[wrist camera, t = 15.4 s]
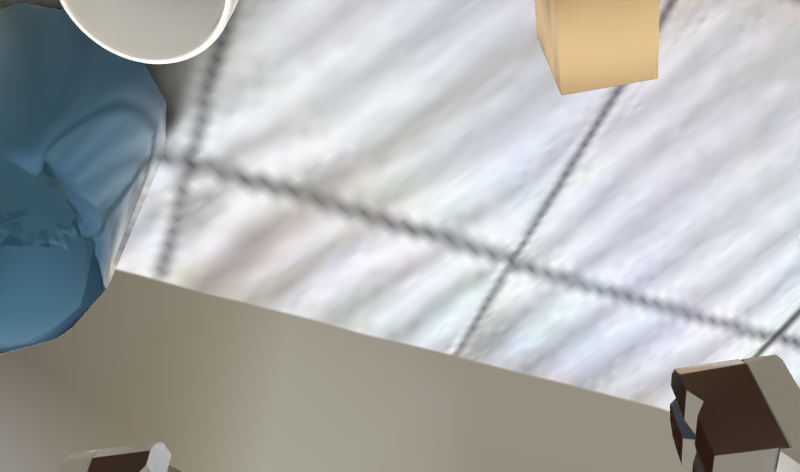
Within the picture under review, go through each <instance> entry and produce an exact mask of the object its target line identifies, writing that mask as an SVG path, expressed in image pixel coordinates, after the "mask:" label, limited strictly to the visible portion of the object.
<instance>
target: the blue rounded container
mask: <svg viewBox="0 0 800 472" xmlns="http://www.w3.org/2000/svg"><path fill="white" fill-rule="evenodd" d="M166 108H167V103H166V101H165V99H164V97H163V95H162V93H161V91H160V90H159V88H158V86H157V84H156V83H155V81H154V79H153V77H152V76H151V74H150V72H149V70H148V69H147V67H146V65H145V63H142V62H137V61H133V60H129V59H126V58H124V57H121V56H118V55H116V54H114V53H112V52H110V51H108V50H106V49H105V48H103V47H102V46H100V45H98V44H97V43H96V42H94V41H93V40H92V39H90V38H89V37H88V36H87V35H86V34H85V33H84V32H82V30H81V29H80V28H79V27H78V26H77V25H76V24H75V23H74V22H73V20H72V19H71V18H70V17H69V15H68V14H67V12H66V11H65V10H60V9H55V8H50V7H44V6H39V5H34V4H28V3H20V2H18V3H16V4H13V5H10V6H7V7H4V8H2V9H0V354H3V353H6V352H10V351H14V350H18V349H21V348H25V347H29V346H32V345H36V344H40V343H44V342H47V341H51V340H53V339H56V338H58V337H60V336H62V335H63V334H65V333H66V332H67V331H68V330H70V329H71V328H72V327H73V326H74V325H75V324H76V323H77V322H78V321H79V319H80V318H81V317H82V316H83V315H84V314H85V313H86V312H87V310H88V309H89V308H90V307H91V306H92V305H93V304H94V302H95V301H96V300H97V299H98V298H99V297H100V296H101V295H102V294H103V292H104V291H105V290H106V288H107V286H108V284H109V282H110V280H111V278H112V276H113V274H114V271H115V269H116V266H117V264H118V262H119V259H120V257H121V255H122V252H123V250H124V247H125V245H126V243H127V240H128V238H129V236H130V233H131V231H132V229H133V226H134V224H135V221H136V219H137V217H138V214H139V212H140V210H141V207H142V205H143V202H144V200H145V198H146V195H147V193H148V191H149V188H150V186H151V184H152V181H153V179H154V176H155V174H156V172H157V169H158V167H159V165H160V162H161V160H162V157H163V155H164V153H165V139H166Z"/></svg>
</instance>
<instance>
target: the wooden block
mask: <svg viewBox="0 0 800 472" xmlns="http://www.w3.org/2000/svg"><path fill="white" fill-rule="evenodd" d="M659 5H660V0H535V11H536V24H537V37H538V40H539V43H540V45H541V48H542V50H543V52H544V55H545V57H546V60H547V62H548V64H549V67H550V69H551V72H552V74H553V76H554V79H555V81H556V84H557V86H558V88H559V91H560V93H561V95H567V94H572V93H578V92H584V91H589V90H595V89H601V88H607V87H612V86H618V85H624V84H629V83H635V82H641V81H647V80H652V79H658V44H659Z"/></svg>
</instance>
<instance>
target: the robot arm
mask: <svg viewBox="0 0 800 472" xmlns="http://www.w3.org/2000/svg"><path fill="white" fill-rule="evenodd" d="M799 245H800V230H799ZM671 387H672V389H673V392H674V394H675V397H676V399H675V400H674V401H673V402H672V403H671V404H670V423H671V430H672V436H673V440H674V444H675V447H676V450H677V453H678V456H679V459H680V462H681V464H682V465H683V466H685V467H686V468H687V469H689V470H690V471H691V472H800V389H799V387H798V386H797V384H796V382H795V381H794V379H793V377H792V375H791V374H790V372H789V370H788V369H787V367H786V365H785V363H784V362H783V360H782V359H781V358H780V357H778V356H777V355H769V356H762V357H755V358H748V359H742V360H739V359H736V360H730V361H723V362H717V363H710V364H704V365H697V366H691V367H684V368H678V369H674V371H673V373H672V377H671ZM170 457H171V454H170V452H169V451H168V449H167V448H166V447H165V445H164V443H153V444H144V445H135V446H127V447H117V448H110V449H100V450H93V451H85V452H78V453H71V454H69V455H68V457H67V458H66V459H65V460H64V461H63V463H62V464H61V467H60V469H59V472H181V471H180V470H178V469H176V468H174V467H172V466H170V465H169V462H170Z"/></svg>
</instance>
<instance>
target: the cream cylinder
mask: <svg viewBox="0 0 800 472" xmlns="http://www.w3.org/2000/svg"><path fill="white" fill-rule="evenodd" d="M238 1H239V0H60V2H61V4H62V6H63V7H64V9H65V11H66V12H67V14H68V15H69V17H70V18H71V19H72V20H73V22H74V23H75V24H76V25H77V26H78V27H79V28H80V29H81V30H82V32H84V33H85V34H86V35H87V36H88V37H89V38H90V39H92V40H93V41H94V42H96V43H97V44H98V45H100V46H102V47H103V48H105V49H106V50H108V51H110V52H112V53H114V54H116V55H118V56H121V57H124V58H126V59H129V60H133V61H137V62H142V63H149V64H169V63H175V62H180V61H183V60H186V59H189V58H191V57H194V56H196V55H198V54H199V53H201V52H203V51H204V50H205V49H207V48H208V47H209V46H210V45H211V44H213V43H214V41H215V40H216V39H217V38H218V37H219V36H220V34H221V33H222V31H223V30H224V28H225V26H226V24H227V22H228V21H229V19H230V17H231V15H232V14H233V12H234V10H235V8H236V5H237V3H238Z"/></svg>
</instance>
